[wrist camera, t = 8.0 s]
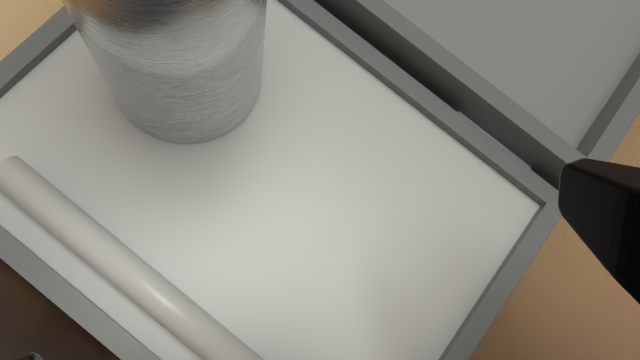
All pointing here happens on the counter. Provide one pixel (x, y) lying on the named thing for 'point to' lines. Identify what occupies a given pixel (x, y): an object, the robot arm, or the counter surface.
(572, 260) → the counter surface
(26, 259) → the lid
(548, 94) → the case
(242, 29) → the grey cylinder
